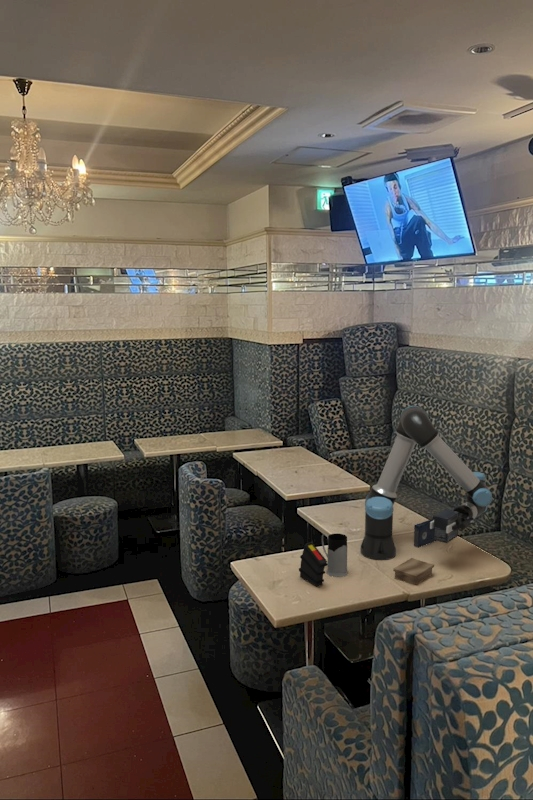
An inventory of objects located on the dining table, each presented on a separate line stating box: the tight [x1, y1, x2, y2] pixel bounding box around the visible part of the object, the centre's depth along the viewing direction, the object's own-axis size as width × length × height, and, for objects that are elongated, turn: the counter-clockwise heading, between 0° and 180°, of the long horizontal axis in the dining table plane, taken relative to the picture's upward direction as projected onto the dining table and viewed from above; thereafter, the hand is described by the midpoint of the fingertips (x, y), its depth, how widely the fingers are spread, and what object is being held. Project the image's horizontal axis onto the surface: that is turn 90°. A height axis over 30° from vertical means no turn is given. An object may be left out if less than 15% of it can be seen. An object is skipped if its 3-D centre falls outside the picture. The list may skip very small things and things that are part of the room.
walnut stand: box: [392, 557, 435, 586], centre depth 244 cm, size 10×14×4 cm
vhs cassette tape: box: [413, 518, 437, 548], centre depth 278 cm, size 18×3×10 cm, turn 126°
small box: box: [433, 509, 459, 544], centre depth 252 cm, size 11×6×10 cm, turn 139°
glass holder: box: [321, 533, 349, 578], centre depth 249 cm, size 9×14×15 cm, turn 33°
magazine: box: [298, 541, 328, 588], centre depth 239 cm, size 4×13×15 cm, turn 34°
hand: (439, 527), depth 247 cm, fingers closed on small box, 6 cm apart
